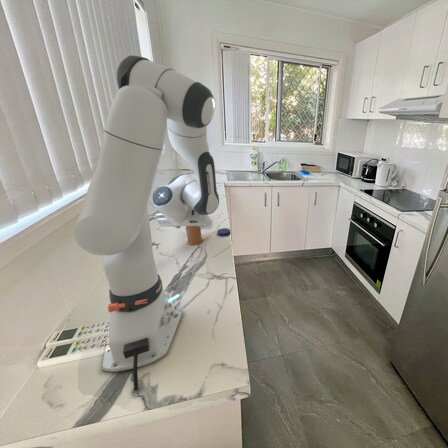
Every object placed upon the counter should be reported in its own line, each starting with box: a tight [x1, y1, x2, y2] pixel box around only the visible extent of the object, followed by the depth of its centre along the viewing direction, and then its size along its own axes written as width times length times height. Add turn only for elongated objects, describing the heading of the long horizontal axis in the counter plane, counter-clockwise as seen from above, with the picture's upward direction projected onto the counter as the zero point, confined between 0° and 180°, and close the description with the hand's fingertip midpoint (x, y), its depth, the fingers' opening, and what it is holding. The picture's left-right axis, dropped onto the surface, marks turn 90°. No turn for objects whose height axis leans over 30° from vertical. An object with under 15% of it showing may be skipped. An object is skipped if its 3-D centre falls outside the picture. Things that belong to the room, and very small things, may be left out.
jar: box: [185, 226, 203, 245], centre depth 117 cm, size 6×6×12 cm
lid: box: [217, 227, 231, 238], centre depth 128 cm, size 7×6×2 cm
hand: (189, 226), depth 110 cm, fingers open, 8 cm apart
